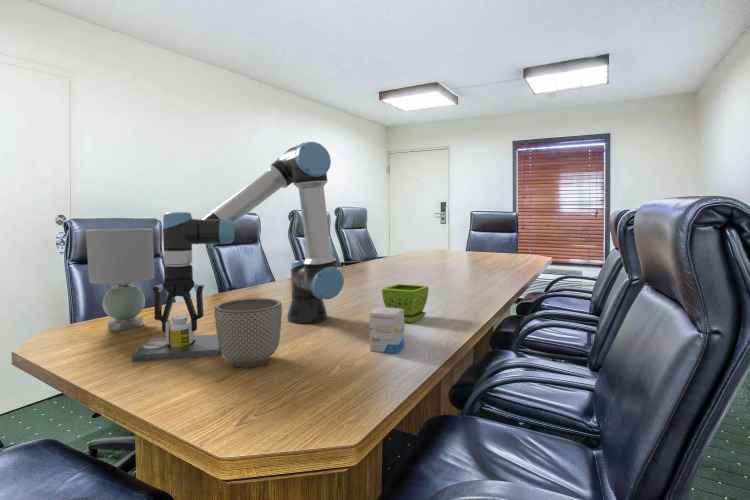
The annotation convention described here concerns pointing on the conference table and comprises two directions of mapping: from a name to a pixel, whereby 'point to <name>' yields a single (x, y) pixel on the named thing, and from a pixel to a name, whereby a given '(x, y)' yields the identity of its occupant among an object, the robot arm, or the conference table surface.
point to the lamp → (121, 271)
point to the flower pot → (406, 299)
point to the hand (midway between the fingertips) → (180, 342)
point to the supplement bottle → (179, 332)
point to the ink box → (386, 329)
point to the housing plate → (177, 349)
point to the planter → (248, 330)
